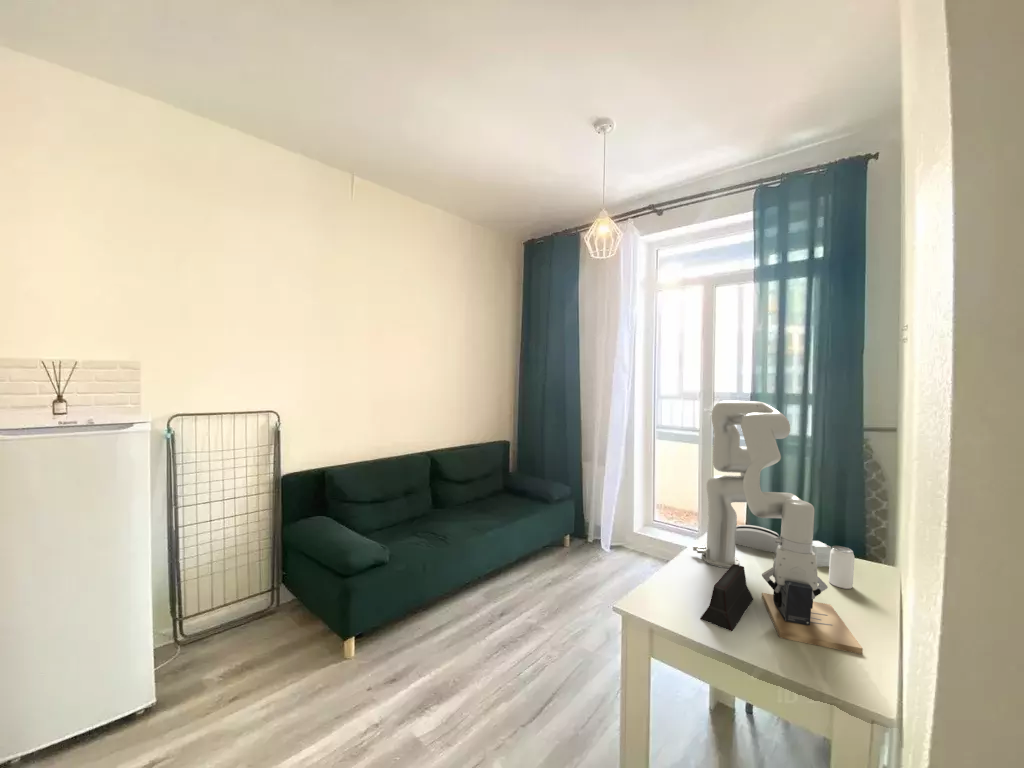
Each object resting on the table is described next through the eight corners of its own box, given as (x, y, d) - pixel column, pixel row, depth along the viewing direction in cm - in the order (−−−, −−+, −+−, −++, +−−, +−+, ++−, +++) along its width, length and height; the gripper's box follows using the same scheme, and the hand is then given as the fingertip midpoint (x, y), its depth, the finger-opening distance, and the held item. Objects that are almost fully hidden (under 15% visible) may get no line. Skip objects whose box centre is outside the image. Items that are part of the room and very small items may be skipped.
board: (779, 637, 115) (780, 631, 115) (761, 597, 136) (762, 592, 136) (862, 654, 109) (862, 648, 109) (830, 609, 130) (830, 604, 130)
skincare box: (802, 559, 165) (803, 540, 165) (817, 559, 166) (818, 540, 166) (815, 566, 159) (816, 546, 159) (830, 566, 160) (831, 546, 160)
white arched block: (780, 549, 174) (782, 528, 171) (780, 557, 170) (781, 536, 167) (733, 539, 183) (734, 519, 180) (732, 546, 179) (732, 526, 176)
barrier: (732, 632, 117) (734, 596, 117) (699, 619, 123) (700, 584, 122) (754, 599, 135) (755, 567, 134) (723, 589, 140) (725, 558, 140)
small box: (812, 626, 118) (814, 588, 117) (784, 622, 120) (786, 584, 119) (798, 606, 128) (800, 571, 128) (773, 602, 130) (775, 567, 129)
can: (845, 591, 142) (847, 554, 141) (824, 581, 148) (826, 546, 147) (857, 587, 144) (859, 551, 144) (835, 578, 150) (837, 544, 150)
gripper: (763, 544, 122) (760, 607, 123) (837, 555, 116) (833, 621, 117) (758, 535, 129) (755, 594, 130) (827, 545, 124) (823, 607, 124)
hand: (792, 606), depth 124 cm, fingers closed on small box, 6 cm apart
